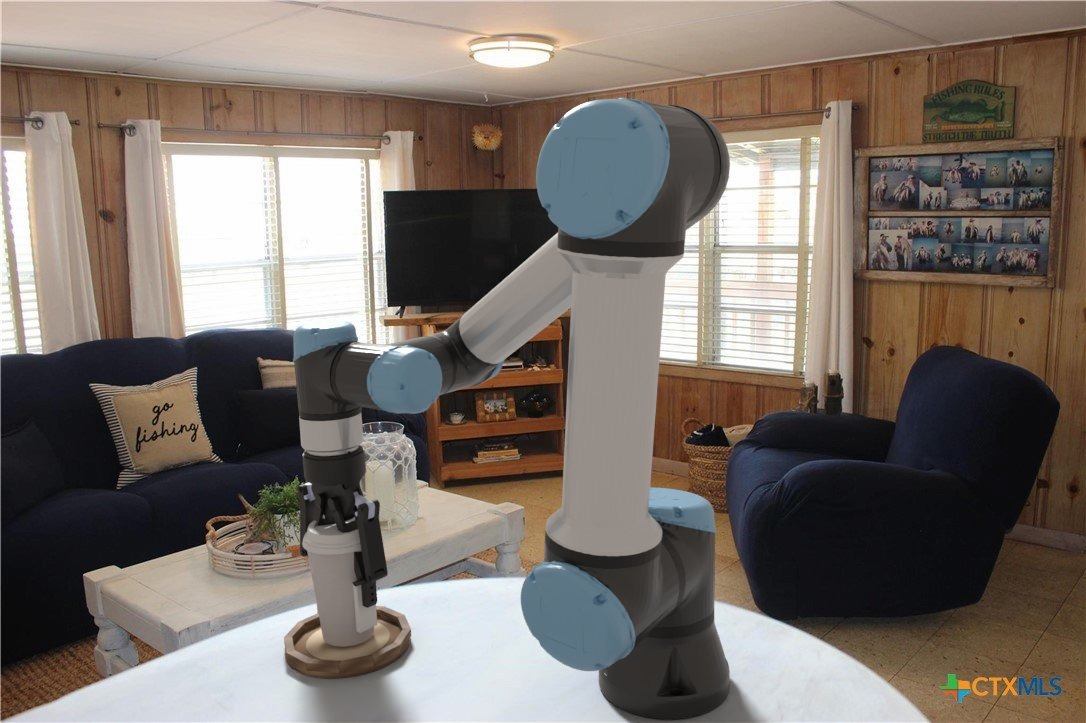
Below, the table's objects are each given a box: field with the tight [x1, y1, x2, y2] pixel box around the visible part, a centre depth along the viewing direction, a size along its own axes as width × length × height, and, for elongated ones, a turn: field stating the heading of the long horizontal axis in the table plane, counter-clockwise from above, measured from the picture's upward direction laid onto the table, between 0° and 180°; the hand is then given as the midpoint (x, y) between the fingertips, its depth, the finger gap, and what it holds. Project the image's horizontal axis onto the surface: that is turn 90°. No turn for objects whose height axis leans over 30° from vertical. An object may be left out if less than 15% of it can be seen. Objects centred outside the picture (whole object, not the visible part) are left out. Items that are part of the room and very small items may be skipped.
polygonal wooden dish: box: [283, 605, 412, 680], centre depth 116 cm, size 16×16×2 cm
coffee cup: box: [302, 517, 374, 647], centre depth 114 cm, size 10×10×15 cm
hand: (346, 618), depth 115 cm, fingers closed on coffee cup, 7 cm apart
